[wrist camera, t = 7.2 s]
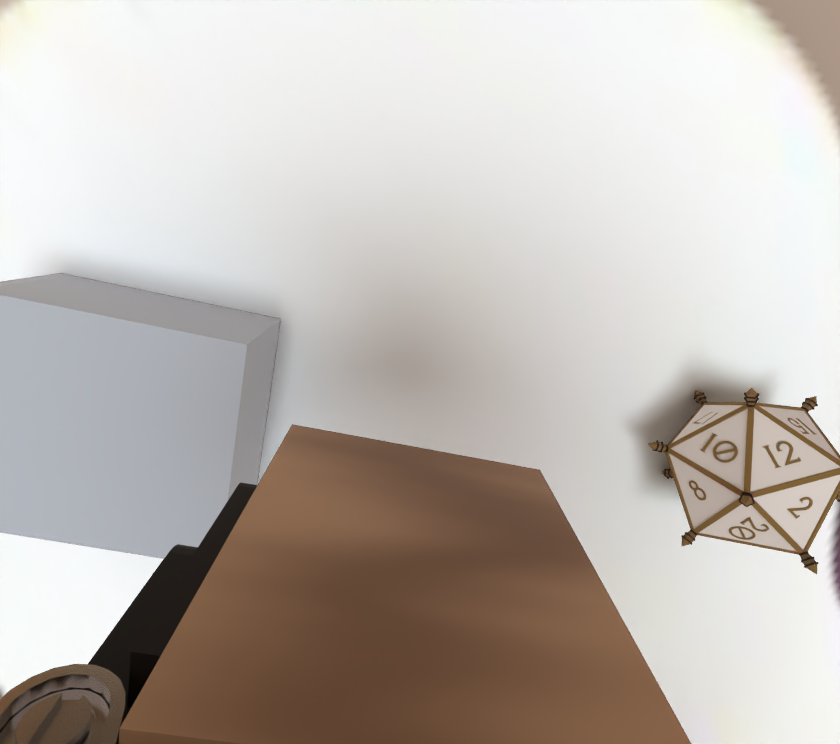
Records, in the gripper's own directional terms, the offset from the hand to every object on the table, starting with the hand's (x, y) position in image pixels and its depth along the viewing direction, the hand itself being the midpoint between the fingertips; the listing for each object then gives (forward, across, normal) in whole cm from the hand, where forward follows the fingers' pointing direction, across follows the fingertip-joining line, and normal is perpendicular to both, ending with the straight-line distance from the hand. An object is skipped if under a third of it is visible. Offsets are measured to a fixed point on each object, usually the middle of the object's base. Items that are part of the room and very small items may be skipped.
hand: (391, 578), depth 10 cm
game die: (+18, -18, +1) cm, 25 cm away
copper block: (+1, 0, 0) cm, 1 cm away
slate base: (+18, +12, +5) cm, 22 cm away
